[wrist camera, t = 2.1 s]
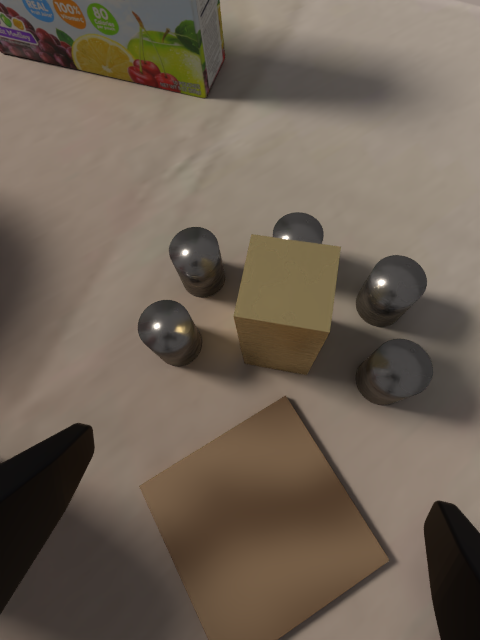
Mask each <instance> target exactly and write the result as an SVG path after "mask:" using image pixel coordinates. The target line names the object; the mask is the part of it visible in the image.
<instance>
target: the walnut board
mask: <svg viewBox="0 0 480 640" xmlns="http://www.w3.org/2000/svg"><path fill="white" fill-rule="evenodd" d="M139 487H140V489H141V491H142V493H143V496H144V498H145V500H146V502H147V504H148V507H149V509H150V511H151V513H152V516H153V518H154V520H155V522H156V524H157V527H158V529H159V531H160V533H161V536H162V538H163V540H164V542H165V544H166V547H167V549H168V551H169V553H170V555H171V558H172V560H173V562H174V564H175V567H176V569H177V571H178V573H179V575H180V578H181V580H182V582H183V584H184V586H185V589H186V591H187V593H188V595H189V598H190V600H191V602H192V604H193V606H194V609H195V611H196V613H197V615H198V618H199V620H200V622H201V624H202V626H203V629H204V631H205V633H206V635H207V637H208V640H277V639H279V638H280V637H282V636H283V635H285V634H286V633H287V632H289V631H290V630H292V629H293V628H294V627H296V626H297V625H299V624H300V623H302V622H303V621H304V620H306V619H307V618H309V617H310V616H312V615H313V614H314V613H316V612H317V611H319V610H320V609H321V608H323V607H324V606H326V605H327V604H329V603H330V602H331V601H333V600H334V599H336V598H337V597H338V596H340V595H341V594H343V593H344V592H346V591H347V590H348V589H350V588H351V587H353V586H354V585H355V584H357V583H358V582H360V581H361V580H363V579H364V578H365V577H367V576H368V575H370V574H371V573H372V572H374V571H375V570H377V569H378V568H380V567H381V566H382V565H384V564H385V563H387V562H388V561H389V559H388V557H387V555H386V554H385V552H384V551H383V549H382V547H381V546H380V544H379V543H378V541H377V540H376V538H375V536H374V535H373V533H372V532H371V530H370V528H369V527H368V525H367V524H366V522H365V521H364V519H363V517H362V516H361V514H360V513H359V511H358V509H357V508H356V506H355V505H354V503H353V502H352V500H351V498H350V497H349V495H348V494H347V492H346V490H345V489H344V487H343V486H342V484H341V483H340V481H339V479H338V478H337V476H336V475H335V473H334V471H333V470H332V468H331V467H330V465H329V464H328V462H327V460H326V459H325V457H324V456H323V454H322V452H321V451H320V449H319V448H318V446H317V445H316V443H315V441H314V440H313V438H312V437H311V435H310V433H309V432H308V430H307V429H306V427H305V426H304V424H303V422H302V421H301V419H300V418H299V416H298V414H297V413H296V411H295V410H294V408H293V407H292V405H291V403H290V402H289V400H288V399H287V397H286V396H284V397H282V398H281V399H279V400H278V401H276V402H274V403H273V404H271V405H270V406H268V407H266V408H265V409H263V410H261V411H260V412H258V413H257V414H255V415H253V416H252V417H250V418H248V419H247V420H245V421H244V422H242V423H240V424H239V425H237V426H236V427H234V428H232V429H231V430H229V431H227V432H226V433H224V434H223V435H221V436H219V437H218V438H216V439H215V440H213V441H211V442H210V443H208V444H206V445H205V446H203V447H202V448H200V449H198V450H197V451H195V452H193V453H192V454H190V455H189V456H187V457H185V458H184V459H182V460H181V461H179V462H177V463H176V464H174V465H172V466H171V467H169V468H168V469H166V470H164V471H163V472H161V473H159V474H158V475H156V476H155V477H153V478H151V479H150V480H148V481H147V482H145V483H143V484H142V485H140V486H139Z"/></svg>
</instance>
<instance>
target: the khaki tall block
mask: <svg viewBox="0 0 480 640" xmlns="http://www.w3.org/2000/svg"><path fill="white" fill-rule="evenodd" d="M340 250H341V247H338V246H331V245H324V244H317V243H310V242H303V241H296V240H289V239H282V238H274V237H267V236H260V235H253V234H251V239H250V243H249V248H248V253H247V257H246V262H245V266H244V271H243V275H242V280H241V285H240V289H239V294H238V298H237V303H236V307H235V312H234V320H235V324H236V329H237V333H238V337H239V342H240V346H241V350H242V355H243V359H244V363H245V364H250V365H255V366H261V367H266V368H272V369H277V370H282V371H288V372H293V373H299V374H304V375H307V373H308V372H309V370H310V368H311V366H312V364H313V362H314V361H315V359H316V357H317V355H318V353H319V351H320V349H321V348H322V346H323V344H324V342H325V340H326V338H327V337H328V335H329V333H330V326H331V319H332V311H333V303H334V296H335V288H336V281H337V273H338V265H339V258H340Z"/></svg>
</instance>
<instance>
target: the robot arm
mask: <svg viewBox="0 0 480 640" xmlns="http://www.w3.org/2000/svg"><path fill="white" fill-rule="evenodd" d="M94 448H95V446H94V437H93V429H92V427H91V426H90V425H86V424H81V423H76V424H73V425H71V426H70V427H68V428H66V429H64V430H62V431H60V432H59V433H57V434H55V435H53V436H51V437H49V438H47V439H46V440H44V441H42V442H40V443H38V444H36V445H35V446H33V447H31V448H29V449H27V450H25V451H23V452H22V453H20V454H18V455H16V456H14V457H12V458H11V459H9V460H7V461H5V462H3V463H1V464H0V614H1V612H2V611H3V609H4V608H5V606H6V604H7V603H8V601H9V600H10V598H11V596H12V595H13V593H14V592H15V590H16V589H17V587H18V585H19V584H20V582H21V581H22V579H23V577H24V576H25V574H26V573H27V571H28V569H29V568H30V566H31V565H32V563H33V561H34V560H35V558H36V557H37V555H38V553H39V552H40V550H41V549H42V547H43V545H44V544H45V542H46V541H47V539H48V538H49V536H50V534H51V533H52V531H53V530H54V528H55V526H56V525H57V523H58V522H59V520H60V518H61V517H62V515H63V513H64V512H65V510H66V508H67V506H68V505H69V503H70V501H71V499H72V497H73V495H74V493H75V491H76V489H77V487H78V485H79V483H80V481H81V479H82V477H83V475H84V473H85V471H86V469H87V467H88V464H89V462H90V460H91V458H92V456H93V454H94ZM424 537H425V545H426V554H427V562H428V571H429V579H430V588H431V595H432V601H433V606H434V611H435V616H436V620H437V625H438V629H439V634H440V638H441V640H480V533H479V532H478V530H477V529H476V528H475V527H474V526H473V525H472V524H471V522H470V521H469V520H468V519H467V518H466V517H465V515H464V514H463V513H462V512H461V511H460V510H459V509H458V507H457V506H455V505H454V504H452V503H448V502H443V501H436V502H434V504H433V506H432V508H431V510H430V512H429V514H428V516H427V518H426V520H425V523H424Z"/></svg>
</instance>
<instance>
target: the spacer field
mask: <svg viewBox="0 0 480 640" xmlns="http://www.w3.org/2000/svg"><path fill="white" fill-rule="evenodd" d="M273 237H274V238H282V239H289V240H296V241H303V242H310V243H317V244H322V241H323V228H322V226H321V224H320V223H319V221H318V220H317V219H315V218H314V217H313V216H311V215H309V214H306V213H299V212H297V213H290V214H287V215H285V216H283V217H282V218H281V219H279V220H278V222H277V223H276V225H275V227H274V230H273ZM169 255H170V258H171V260H172V262H173V264H174V266H175V268H176V270H177V272H178V274H179V277H180V279H181V281H182V283H183V285H184V287H185V288H186V290H187V291H188V292H189V293H190V294H192V295H194V296H197V297H208V296H211V295H214V294H215V293H217V292H218V291H219V290H220V289H221V288H222V286H223V284H224V281H225V272H224V267H223V263H222V259H221V254H220V250H219V245H218V241H217V239H216V237H215V236H214V235H213V233H211V232H210V231H209V230H207V229H204V228H201V227H191V228H187V229H184V230H182V231H180V232H179V233H178V234H177V235H176V236H175V237H174V238H173V239H172V241H171V243H170V247H169ZM426 286H427V278H426V275H425V272H424V270H423V269H422V267H421V266H420V265H419V264H418V263H417V262H415V261H414V260H412V259H410V258H408V257H405V256H399V255H393V256H388V257H385V258H383V259H382V260H380V261H379V262H378V263H377V264H376V265H375V267H374V269H373V270H372V272H371V274H370V275H369V277H368V279H367V280H366V282H365V284H364V285H363V287H362V289H361V291H360V292H359V294H358V296H357V299H356V308H357V311H358V313H359V315H360V316H361V318H362V319H363V320H364V321H366V322H367V323H369V324H371V325H374V326H380V327H382V326H388V325H391V324H393V323H394V322H396V321H397V320H398V319H399V318H400V317H401V316H402V315H403V314H404V313H405V312H406V311H407V310H408V309H409V308H410V307H411V306H412V305H413V304H414V303H415V302H416V301H417V300H418V299H419V298H420V297H421V296H422V295H423V293H424V292H425V290H426ZM138 333H139V336H140V338H141V340H142V341H143V343H144V344H145V345H147V346H148V347H149V348H150V349H151V350H152V351H153V352H154V353H155V354H157V355H158V356H159V357H160V358H161V359H162V360H163V361H164V362H166V363H167V364H170V365H173V366H183V365H186V364H189V363H190V362H192V361H193V360H194V359H195V358H196V357H197V356H198V354H199V353H200V350H201V347H202V339H201V335H200V333H199V331H198V330H197V328H196V326H195V324H194V322H193V320H192V319H191V317H190V315H189V313H188V311H187V310H186V309H185V307H184V306H182V305H181V304H180V303H178V302H175V301H172V300H161V301H157V302H155V303H153V304H151V305H150V306H148V307H147V308H146V309H145V310H144V311H143V313H142V314H141V316H140V319H139V322H138ZM432 375H433V367H432V363H431V360H430V358H429V356H428V354H427V353H426V352H425V350H424V349H423V348H422V347H420V346H419V345H418V344H416V343H414V342H412V341H409V340H405V339H393V340H390V341H387V342H385V343H384V344H382V345H381V346H380V347H379V348H378V349H377V350H376V351H375V352H374V353H372V354H371V355H370V356H369V357H368V358H367V359H366V360H365V361H364V362H363V363H362V364H361V365H360V366H359V368H358V370H357V373H356V384H357V387H358V389H359V391H360V393H361V394H362V395H363V396H364V397H365V398H366V399H367V400H369V401H370V402H372V403H375V404H378V405H388V404H392V403H394V402H397V401H400V400H402V399H405V398H408V397H410V396H413V395H416V394H418V393H420V392H422V391H423V390H424V389H426V387H427V386H428V385H429V383H430V381H431V379H432Z"/></svg>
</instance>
